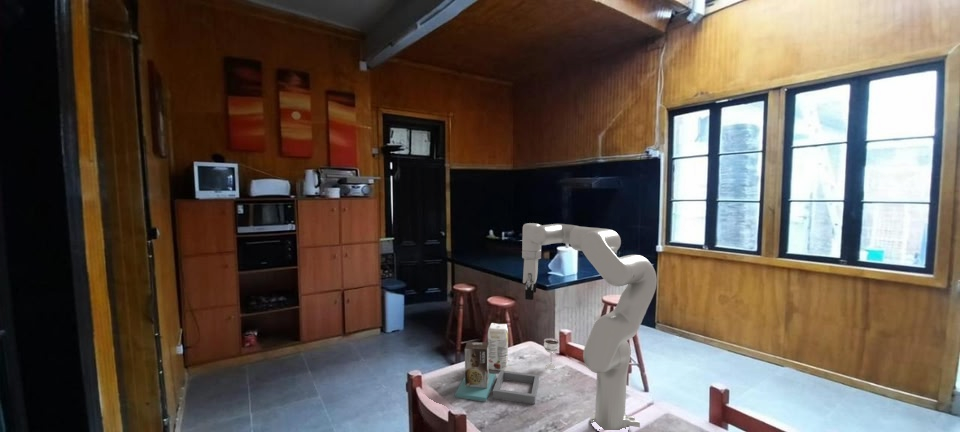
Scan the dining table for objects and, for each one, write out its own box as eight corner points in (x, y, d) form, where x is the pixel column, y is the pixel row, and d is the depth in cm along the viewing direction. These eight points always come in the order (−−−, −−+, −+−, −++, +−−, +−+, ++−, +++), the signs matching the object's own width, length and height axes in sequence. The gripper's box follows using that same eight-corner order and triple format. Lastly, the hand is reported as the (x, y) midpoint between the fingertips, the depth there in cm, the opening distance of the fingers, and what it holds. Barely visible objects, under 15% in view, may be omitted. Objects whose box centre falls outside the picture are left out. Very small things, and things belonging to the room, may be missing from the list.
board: (495, 377, 161) (495, 374, 161) (485, 401, 144) (485, 397, 144) (468, 373, 164) (468, 370, 164) (455, 397, 147) (455, 393, 147)
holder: (538, 382, 158) (539, 375, 158) (534, 404, 143) (534, 396, 142) (500, 376, 162) (500, 370, 162) (492, 397, 146) (492, 390, 146)
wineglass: (560, 371, 167) (560, 344, 166) (544, 370, 167) (545, 344, 166) (557, 363, 174) (557, 338, 173) (542, 363, 174) (542, 337, 173)
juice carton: (506, 372, 166) (506, 329, 164) (486, 370, 168) (486, 328, 166) (508, 364, 173) (508, 323, 171) (489, 362, 175) (489, 321, 173)
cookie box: (489, 380, 156) (489, 342, 155) (487, 388, 150) (487, 349, 148) (467, 378, 158) (467, 340, 156) (464, 387, 151) (464, 347, 150)
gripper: (525, 249, 163) (524, 289, 165) (519, 258, 146) (518, 301, 148) (542, 250, 161) (542, 290, 163) (538, 259, 144) (538, 303, 146)
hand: (530, 295), depth 155 cm, fingers open, 9 cm apart
